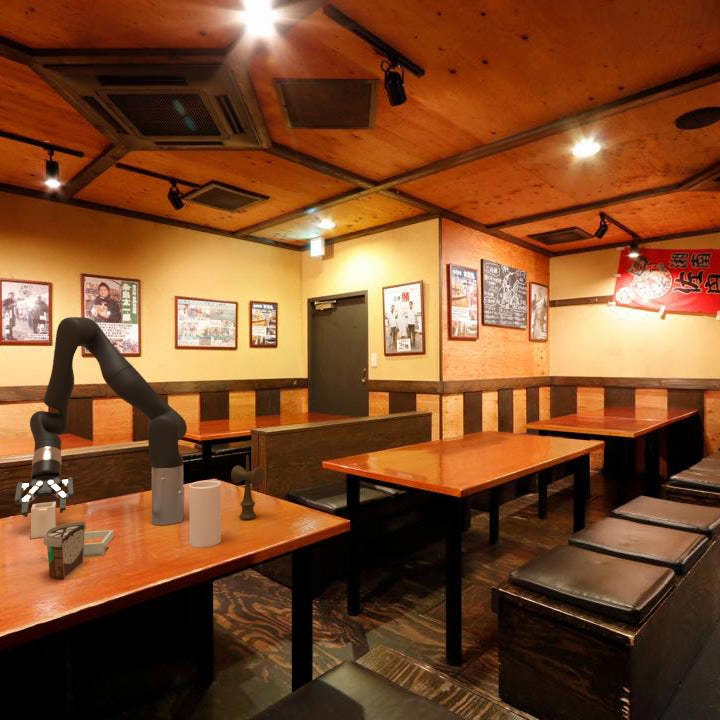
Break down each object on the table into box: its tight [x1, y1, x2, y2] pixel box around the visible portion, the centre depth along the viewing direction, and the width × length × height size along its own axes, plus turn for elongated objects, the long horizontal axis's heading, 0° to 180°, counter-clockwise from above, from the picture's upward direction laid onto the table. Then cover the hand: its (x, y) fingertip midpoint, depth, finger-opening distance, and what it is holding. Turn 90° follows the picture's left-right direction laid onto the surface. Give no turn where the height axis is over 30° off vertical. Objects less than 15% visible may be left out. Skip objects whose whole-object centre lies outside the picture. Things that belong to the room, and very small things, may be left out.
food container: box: [43, 521, 87, 580], centre depth 119 cm, size 12×6×10 cm, turn 5°
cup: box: [189, 480, 222, 548], centre depth 138 cm, size 8×8×16 cm
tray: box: [83, 529, 115, 558], centre depth 133 cm, size 10×10×3 cm
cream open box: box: [30, 501, 57, 540], centre depth 141 cm, size 6×7×8 cm
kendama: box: [230, 454, 265, 521], centre depth 159 cm, size 6×10×20 cm, turn 65°
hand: (43, 513), depth 142 cm, fingers open, 8 cm apart
